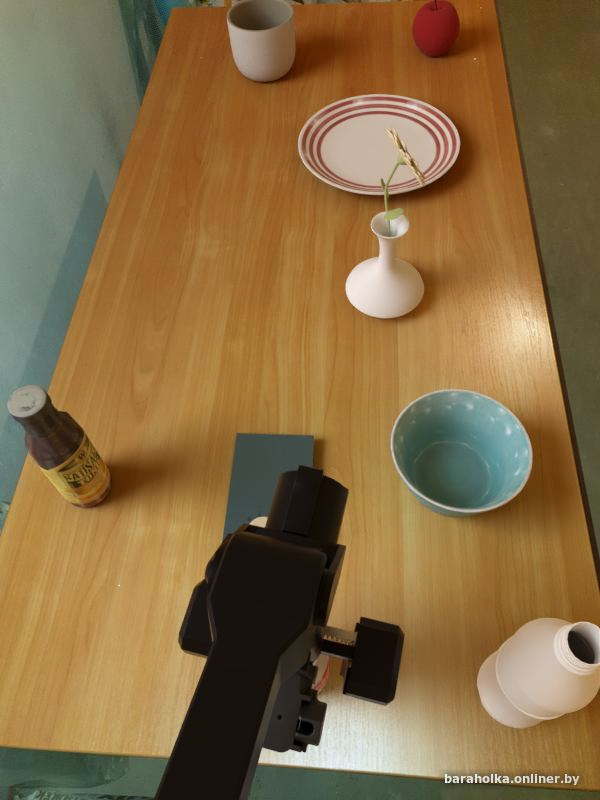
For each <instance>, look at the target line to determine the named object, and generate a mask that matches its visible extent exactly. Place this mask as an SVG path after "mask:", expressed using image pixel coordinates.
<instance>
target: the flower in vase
mask: <svg viewBox="0 0 600 800" xmlns="http://www.w3.org/2000/svg"><path fill="white" fill-rule="evenodd" d="M393 130H394V134H393V132H392V129H391V128H390V127H389V129H388V128H387V132H388V134H389V137H390V139H391V141H392V143H393V144H394V146H395V148H396V149H397V151H398V153H399V156H398V159H397V160H398V162H397V163H396V165H395V167H394V169H393V170H392V172H391V174H390V176H389V178H388V180H387V183H386V185H385V183H384V181H383V179H382V178H381V186H382V189H383V191H384V195H383V197H384V208H385V211H381V212H379V213H377V214H376V215H374V216H373V218H371V221H370V228H371V230H372V232H373V233H374V234H375V235H376V236H377V239H378V245H379V253H378V256H374V257H371V258H367V259H365V260H363V261H361V262H360V263H358V264H357V265H356V266H355V267H354V268H353V269H352V270H351V271H350V272H349V274H348V276H347V278H346V281H345V294H346V297H347V300H349V302H350V304H351V305H352V307H355V309H356V310H357V311H359V312H361V313H362V314H364V315H365V316H369V317H372V318H376V319H385V320H386V319H396V318H399V317H401V316H404V315H406V314H409V313H410V312H411V311H413V310H414V309H416V307H418V305H420V303H421V301H422V299H423V297H424V294H425V284H424V281H423V278H422V276H421V274H420V272H419V270H417V268H416V267H415V266H414V265H413V264H411V263H410V262H408V261H405V260H404V259H401V258H399V257H396V256H397V248H398V244H399V242H400V239H401V238H402V237H403V236H405V235H406V234H407V233H408V231H409V230H410V221H409V218H407V216H406V215H404V214H405V210H404V209H403V208H402V207H397V208H393V209H390V210H389V205H388V204H389V203H388V199H389V198H390V195H389V193H388V189H387V188H388V185H389V183H390V180H391V178H392V176H393V174H394V173H395V171H396V169H397V167H398V166H399V164H400V165H407V167H408V168H409V170H410V171H411V173H412V174H413V175H414V177H415V178H416V179H417V181H418V182H419V183H420V184H421V185H422V186H423V187H425V186H424V184H426V183H425V182H424V180H423V179H426V177H425V176H424V175H423V173H422V172H421V171H420V170H419V169H418V168H417V167H419V165H418V163H417V162H416V161H415V160H414V159H413V158H412V157H411V156H410V154H409V153H408V151H407V147H406V145H405V143H404V141H400V139H399V136H398V134H397V132H396V130H395V128H394V129H393ZM420 176H421V177H422V178H423V179H422V178H421V177H420ZM423 183H424V184H423Z"/></svg>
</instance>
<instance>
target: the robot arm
mask: <svg viewBox="0 0 600 800" xmlns="http://www.w3.org/2000/svg"><path fill="white" fill-rule="evenodd" d="M349 492H350V491H349V488H347V487H345V486H344V485H343V484H342V483H340V482H339V481H338V480H336V479H334V478H332V477H329V476H328V475H325V471H324V469H322V468H317V467H314V466H313V467H308V466H303V465H299V467H298V470H293V471H287V472H284V473H283V474H281V475H280V477H279V480H278V483H277V487H276V490H275V494H274V497H273V501H272V504H271V508H270V511H269V515H268V518H267V522H266V525H265V528H264V527H259V526H255V525H250V524H246V523H243V524H242V525H241V526H240V527H239V528H238V529H237V530H236V531H235V532H234V533H233V534H231V533H228V535H227V536H226V537H225V539H224V540H223V542H221V543H220V544H219V546H218V547H217V548H216V550H215V551H214V553H213V555H212V556H211V557H210V559H209V560H208V561H207V564H206V567H205V570H204V578H203V579H202V580H200V581H199V582H198V583H197V584H196V585H195V586H194V588H193V590H192V593H191V596H190V598H189V601H188V604H187V606H186V607H187V608H186V611H185V613H184V617H183V619H182V622H181V626H180V628H179V631H178V639H177V642H178V645H179V647H180V649H181V651H183V652H184V653H185V654H187V655H189V656H190V655H191V656H195V657H198V658H202V659H206V660H205V663H204V666H203V668H202V671H201V673H200V676H199V678H198V681H197V684H196V686H195V690H194V692H193V695H192V696H191V700H190V703H189V705H188V708H187V711H186V713H185V715H184V719H183V721H182V724H181V726H180V729H179V732H178V735H177V737H176V739H175V743H174V745H173V748H172V750H171V752H170V755H169V758H168V761H167V763H166V765H165V768H164V771H163V774H162V777H161V779H160V782H159V784H158V787H157V789H156V792H155V795H154V797H153V800H249V796H250V792H251V790H252V786H253V782H254V778H255V774H256V772H257V768H258V765H259V761H260V757H261V753H262V750H263V749H266V750H268V751H269V750H270V751H273V752H276V753H286V752H288V751H290V750H291V751H292V752H293V751H294V752H296V753H304V754H306V753H307V749H308V747H309V746H311V745H312V746H314V747H318V746H319V745H320V743H321V740H322V735H323V731H324V725H325V720H326V716H327V715H326V714H327V709H328V703H327V702H325V701H321V700H319V698H318V695H319V693H318V690H314V689H312V684H313V685H315V682H316V678H317V673H318V666H314V665H313V663H314V662H315V661H316V660H317V659H318V657H319V655H320V654H323V655H327V656H329V657H331V658H335V659H340V660H342V661H341V665H340V670H339V675H340V676H341V677H342V679H343V681H342V695H344V696H348V697H351V698H354V699H357V700H361V701H364V702H369V703H372V704H376V705H379V706H384V707H386V706H387V705H389V704H390V703H392V702H393V701H394V700H395V697H396V693H397V688H398V687H397V686H398V681H399V674H400V668H401V663H402V662H401V661H402V655H403V651H404V642H405V636H406V635H405V632H404V631H403V629H402V627H401V626H400V625H398V624H395V623H391V622H386V621H381V620H377V619H374V618H373V619H372V618H369V617H366V616H365V617H364V616H360V618H359V622H356V623H355V625H354V627H353V629H352V631H351V630H347V629H343V628H339V627H335V626H330V625H328V624H329V623H328V622H329V620H330V615H331V611H332V609H333V604H334V601H335V596H336V593H337V589H338V586H339V582H340V578H341V575H342V570H343V565H344V561H345V557H346V556H345V555H346V551H347V545H345V544H340V543H338V542H339V538H340V535H341V530H342V529H341V528H342V525H343V520H344V517H345V516H344V515H345V511H346V506H347V503H348V498H349V494H350V493H349ZM325 637H326V638H325ZM330 638H331V640H330ZM334 638H335V641H334ZM339 640H340V641H339ZM338 641H339V642H338ZM343 641H344V643H343Z"/></svg>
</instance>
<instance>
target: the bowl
mask: <svg viewBox="0 0 600 800" xmlns="http://www.w3.org/2000/svg"><path fill="white" fill-rule="evenodd" d="M389 442H390V443H389V444H390V445H389V446H390V456H391V459H392V463H393V465H394V467H395V469H396V471H397V474H398V475H399V477H400V478H401V480H402V481H403V483H404V485H405V487H406V488H407V489H408V490H409V492H410V493H411V494H412V495H413V497H414V498H415V499H416V500H417V501H418V502H419V503H420V504H421V505H423V507H425V508H426V509H428V510H430V512H433V513H436V514H437V515H441V516H444V517H450V518H465V517H471V516H475V515H480V514H481V515H482V514H484V513H487V512H490V511H493V510H496V509H498V508H500V507H503V506H505V505H506V504H508V503H510V502H511V501H512V500H513V499H514V498H516V497H517V496H518V495H519V494H520V492H522V490H523V489H524V488H525V486H526V485H527V483H528V482H529V481H528V480H529V479H530V476H531V473H532V468H533V464H534V463H533V462H534V461H533V460H534V453H533V446H532V442H531V439H530V436H529V434H528V431H527V430H526V427H525V426H524V424H523V423H522V421H521V420H520V419H519V418H518V417H517V415H516V414H515V413H514V412H512V410H510V408H508V407H507V406H505V405H504V404H503V403H501V402H500V401H499V400H496V399H495V398H493V397H490V396H488V395H486V394H484V393H480V392H478V391H474V390H469V389H462V388H445V389H439V390H434V391H431V392H428V393H426V394H425V393H424V394H423V395H421V396H419V397H417V398H416V399H414V400H412V401H411V402H410V403H408V404H407V405H406V406H405V407H404V408H403V409H402V411H401V412H400V413H399V414H398V416H397V417H396V420H395V421H394V423H393V426H392V428H391V433H390V440H389Z"/></svg>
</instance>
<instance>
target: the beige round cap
mask: <svg viewBox="0 0 600 800" xmlns="http://www.w3.org/2000/svg"><path fill="white" fill-rule="evenodd" d="M267 518H268V517H258V518H256V519H254V520H253V521H252V522H251V523H250V525H255V526H259V527H264V528H265V525H266V522H267Z"/></svg>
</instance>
